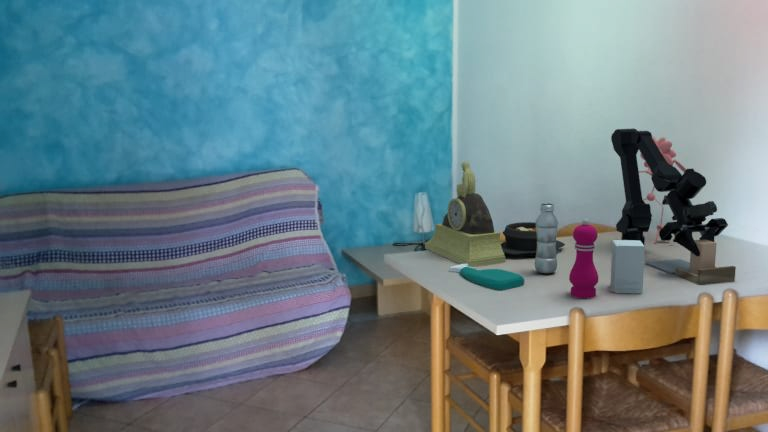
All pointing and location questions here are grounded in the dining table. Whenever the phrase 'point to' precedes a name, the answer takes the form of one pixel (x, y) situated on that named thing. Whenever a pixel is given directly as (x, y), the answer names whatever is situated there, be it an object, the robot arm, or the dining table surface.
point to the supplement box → (627, 266)
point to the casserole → (522, 239)
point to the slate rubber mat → (670, 265)
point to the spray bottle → (490, 277)
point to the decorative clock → (467, 228)
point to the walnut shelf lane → (709, 275)
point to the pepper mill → (584, 262)
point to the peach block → (703, 256)
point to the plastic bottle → (546, 239)
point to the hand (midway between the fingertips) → (706, 254)
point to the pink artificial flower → (668, 155)
